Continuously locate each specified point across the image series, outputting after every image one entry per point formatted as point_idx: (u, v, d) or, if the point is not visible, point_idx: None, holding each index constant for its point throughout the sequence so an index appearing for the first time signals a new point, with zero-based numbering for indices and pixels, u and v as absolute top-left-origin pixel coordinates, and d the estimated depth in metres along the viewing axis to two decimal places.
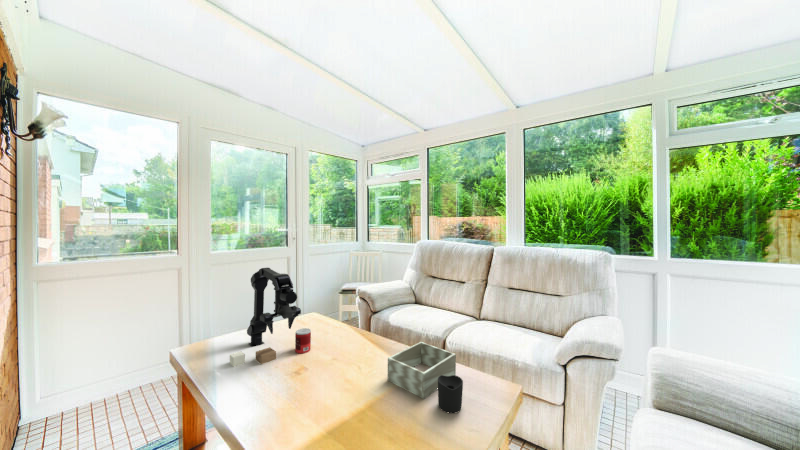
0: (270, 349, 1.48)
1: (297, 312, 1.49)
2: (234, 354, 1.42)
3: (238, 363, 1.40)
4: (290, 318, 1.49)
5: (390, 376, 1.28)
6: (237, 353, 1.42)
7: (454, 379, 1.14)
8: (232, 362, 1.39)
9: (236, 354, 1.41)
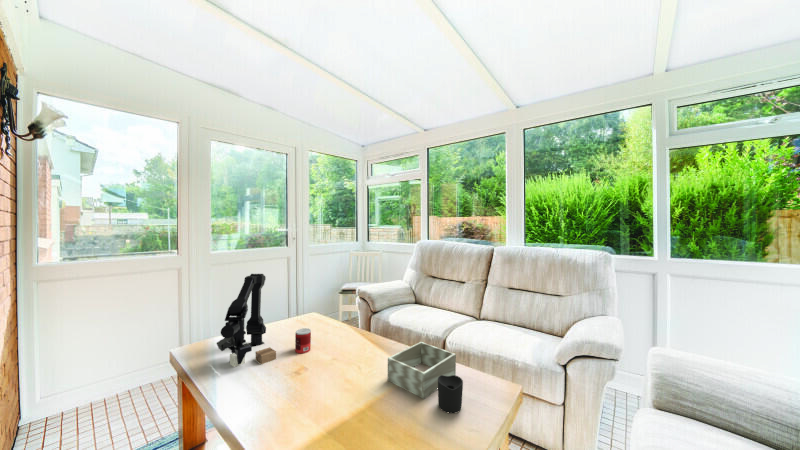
0: (270, 349, 1.48)
1: (236, 351, 1.34)
2: (234, 353, 1.42)
3: None
4: None
5: (390, 376, 1.28)
6: None
7: (454, 379, 1.14)
8: (232, 361, 1.39)
9: None
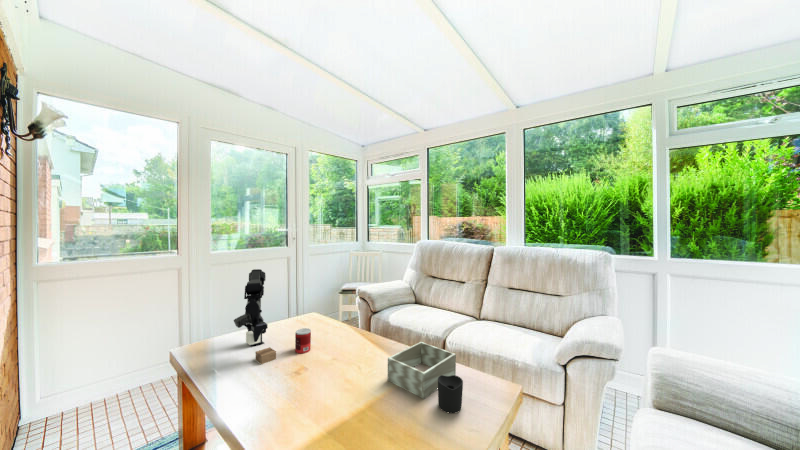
0: (270, 349, 1.48)
1: (252, 328, 1.36)
2: (250, 331, 1.44)
3: None
4: None
5: (390, 376, 1.28)
6: None
7: (454, 379, 1.14)
8: (248, 339, 1.41)
9: (252, 332, 1.43)
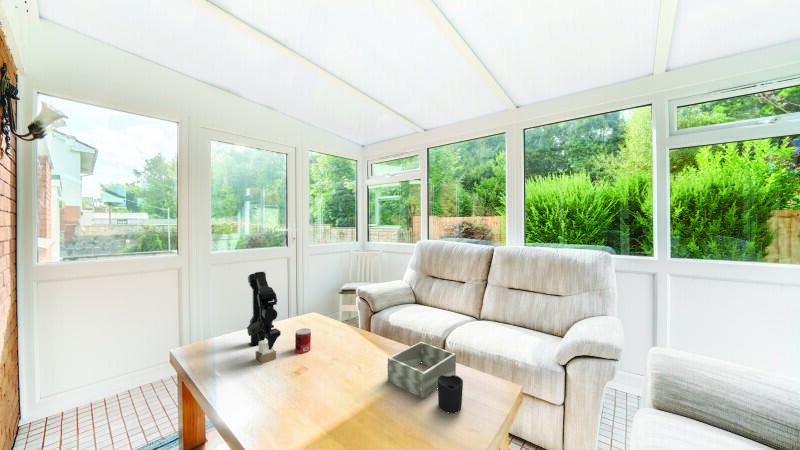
0: None
1: (266, 335, 1.39)
2: (263, 341, 1.46)
3: (267, 350, 1.44)
4: None
5: (390, 376, 1.28)
6: (265, 340, 1.46)
7: (454, 379, 1.14)
8: (261, 348, 1.43)
9: (265, 341, 1.45)
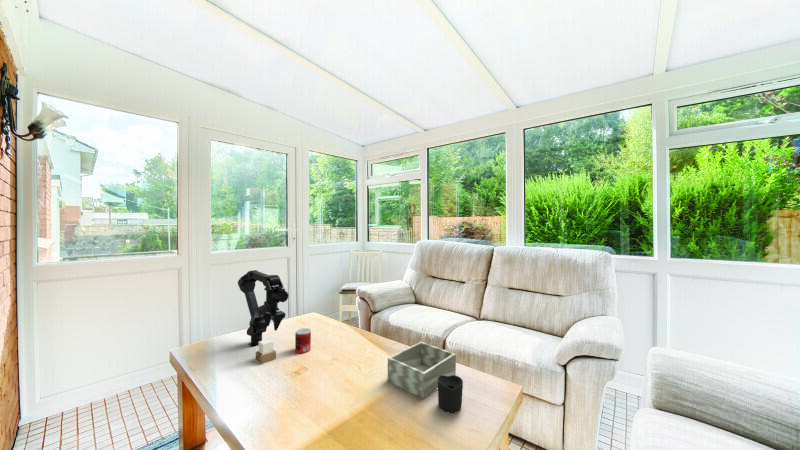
0: None
1: (272, 316, 1.50)
2: (263, 341, 1.46)
3: (267, 350, 1.44)
4: None
5: (390, 376, 1.28)
6: (265, 340, 1.46)
7: (454, 379, 1.14)
8: (261, 348, 1.43)
9: (265, 341, 1.45)
